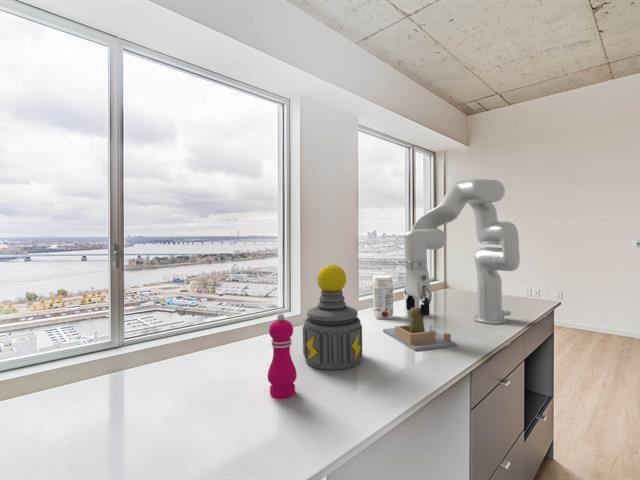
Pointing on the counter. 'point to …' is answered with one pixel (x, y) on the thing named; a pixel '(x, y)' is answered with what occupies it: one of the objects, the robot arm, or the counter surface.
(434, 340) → the dock
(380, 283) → the juice carton
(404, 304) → the small box
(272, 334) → the pepper mill
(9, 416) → the counter surface
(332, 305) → the decorative lamp
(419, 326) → the cork
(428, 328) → the bar
